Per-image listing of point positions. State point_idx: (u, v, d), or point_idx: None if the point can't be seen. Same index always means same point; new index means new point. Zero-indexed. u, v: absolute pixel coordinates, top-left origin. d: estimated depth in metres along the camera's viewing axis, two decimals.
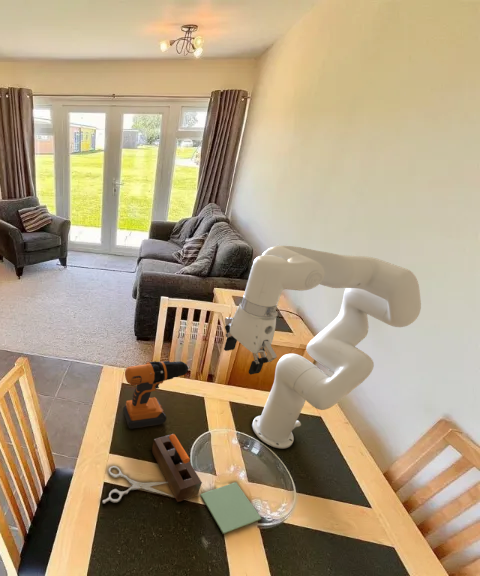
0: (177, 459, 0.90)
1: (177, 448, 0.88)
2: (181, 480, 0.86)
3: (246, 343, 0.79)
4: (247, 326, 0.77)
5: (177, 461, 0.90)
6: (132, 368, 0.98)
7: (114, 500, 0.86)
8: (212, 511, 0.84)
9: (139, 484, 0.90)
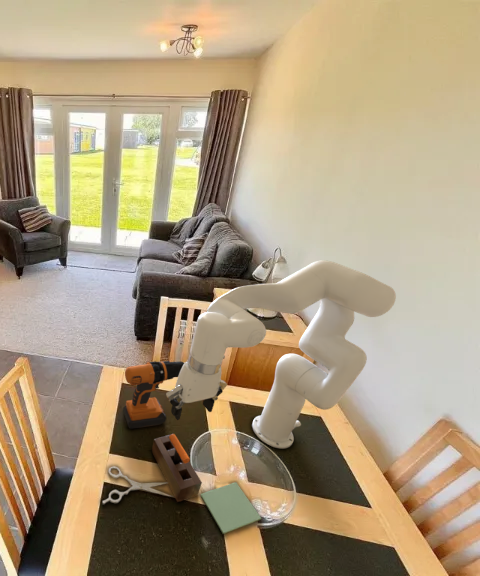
0: (177, 459, 0.90)
1: (177, 448, 0.88)
2: (181, 480, 0.86)
3: (208, 395, 0.79)
4: (209, 383, 0.76)
5: (177, 461, 0.90)
6: (132, 368, 0.98)
7: (114, 501, 0.86)
8: (212, 511, 0.84)
9: (139, 485, 0.90)
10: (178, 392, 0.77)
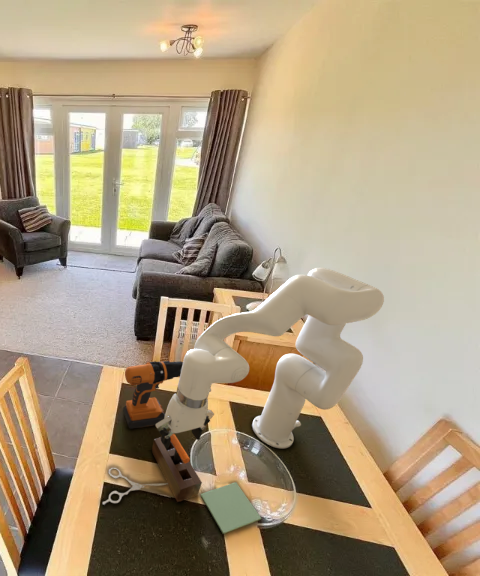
0: (177, 459, 0.90)
1: (177, 448, 0.88)
2: (181, 480, 0.86)
3: (196, 425, 0.83)
4: (196, 415, 0.80)
5: (177, 461, 0.90)
6: (132, 368, 0.98)
7: (114, 502, 0.86)
8: (212, 511, 0.84)
9: (139, 486, 0.90)
10: (167, 423, 0.81)
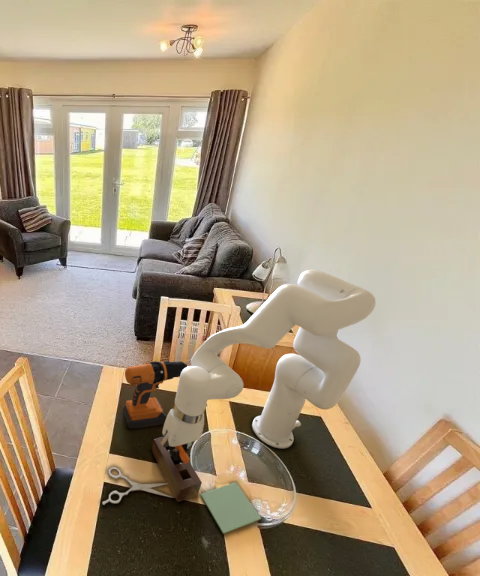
0: (177, 459, 0.90)
1: None
2: (181, 480, 0.86)
3: (193, 439, 0.85)
4: (193, 429, 0.82)
5: (177, 461, 0.90)
6: (132, 368, 0.98)
7: (114, 502, 0.86)
8: (212, 511, 0.84)
9: (139, 486, 0.90)
10: (166, 443, 0.85)
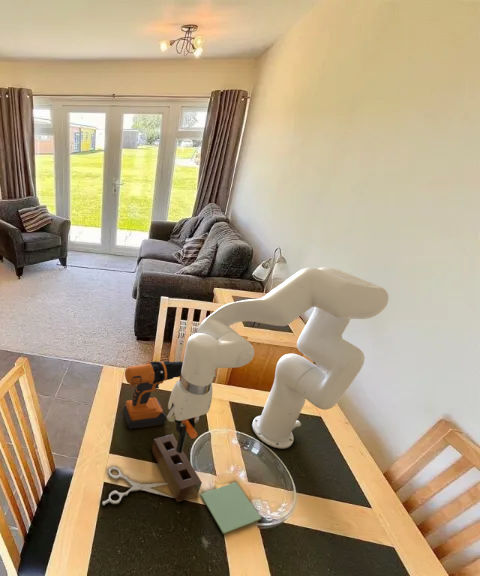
0: (184, 435, 0.86)
1: None
2: (181, 480, 0.86)
3: (200, 412, 0.81)
4: (201, 401, 0.78)
5: (184, 437, 0.86)
6: (132, 368, 0.98)
7: (114, 501, 0.85)
8: (212, 511, 0.84)
9: (139, 486, 0.90)
10: (172, 417, 0.80)
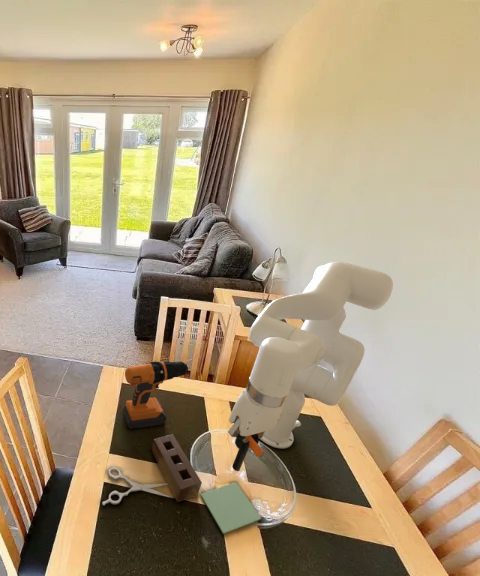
0: None
1: None
2: (181, 480, 0.86)
3: (268, 427, 0.71)
4: (271, 415, 0.68)
5: (244, 454, 0.76)
6: (132, 368, 0.98)
7: (114, 502, 0.85)
8: (212, 511, 0.84)
9: (139, 486, 0.89)
10: (235, 432, 0.71)
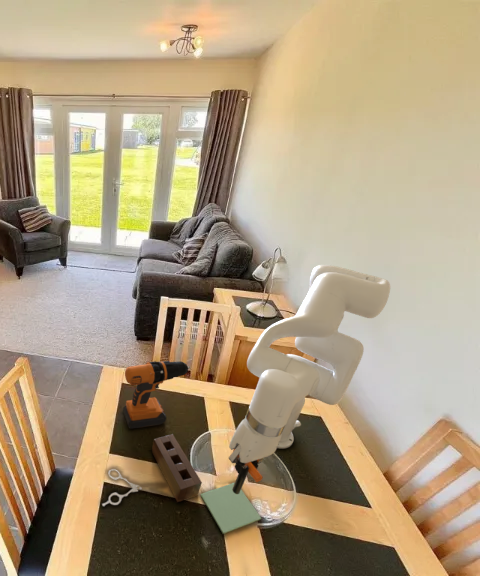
0: None
1: None
2: (181, 480, 0.86)
3: (267, 454, 0.73)
4: (270, 443, 0.71)
5: (243, 479, 0.79)
6: (132, 368, 0.98)
7: (114, 504, 0.86)
8: (212, 511, 0.84)
9: (139, 488, 0.90)
10: (236, 458, 0.73)
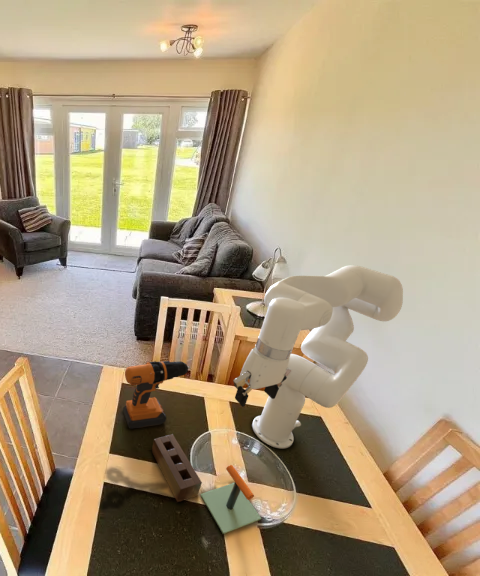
0: (237, 493, 0.81)
1: (238, 482, 0.80)
2: (181, 480, 0.86)
3: (275, 381, 0.79)
4: (278, 369, 0.76)
5: (236, 495, 0.82)
6: (132, 368, 0.98)
7: None
8: (212, 511, 0.84)
9: None
10: (246, 378, 0.77)
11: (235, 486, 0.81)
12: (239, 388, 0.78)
